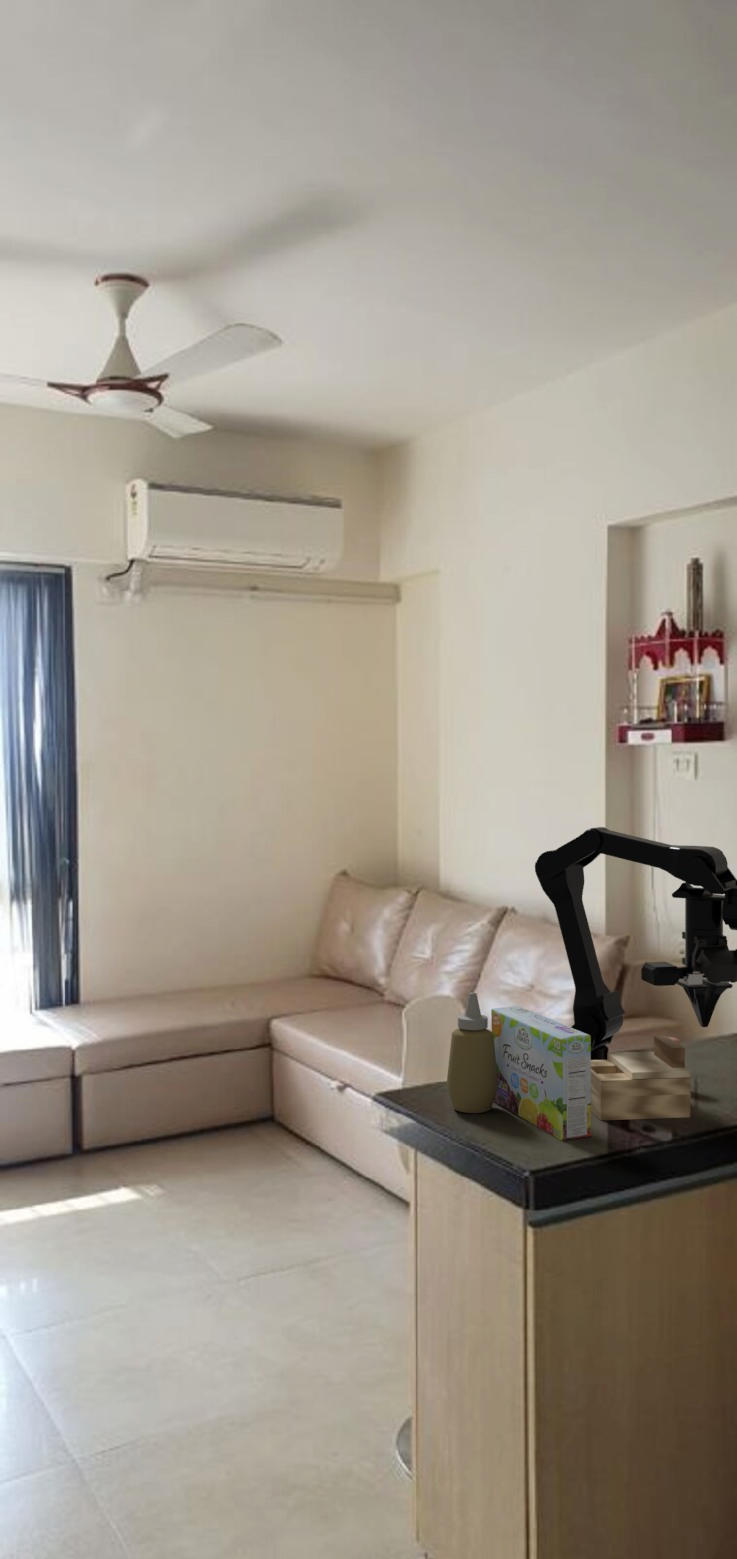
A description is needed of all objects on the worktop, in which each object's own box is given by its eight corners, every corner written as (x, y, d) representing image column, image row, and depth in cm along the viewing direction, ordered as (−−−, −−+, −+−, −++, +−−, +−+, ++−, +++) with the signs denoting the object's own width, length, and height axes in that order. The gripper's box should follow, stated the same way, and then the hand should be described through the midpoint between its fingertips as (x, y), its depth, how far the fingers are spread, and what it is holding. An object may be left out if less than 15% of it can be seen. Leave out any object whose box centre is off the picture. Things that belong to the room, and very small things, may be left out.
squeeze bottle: (452, 1117, 190) (453, 999, 190) (441, 1102, 198) (441, 988, 198) (504, 1115, 192) (505, 997, 191) (491, 1100, 200) (491, 987, 199)
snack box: (488, 1102, 199) (489, 1007, 198) (519, 1098, 201) (520, 1004, 200) (560, 1142, 179) (561, 1036, 179) (593, 1137, 181) (594, 1033, 181)
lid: (662, 1057, 203) (663, 1032, 202) (690, 1077, 191) (691, 1051, 191) (607, 1058, 202) (607, 1034, 201) (632, 1079, 190) (632, 1052, 189)
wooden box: (662, 1094, 203) (662, 1057, 203) (690, 1117, 191) (690, 1077, 191) (577, 1097, 201) (578, 1060, 201) (600, 1120, 189) (601, 1080, 189)
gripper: (668, 937, 188) (668, 1041, 188) (784, 933, 191) (784, 1035, 191) (640, 926, 199) (640, 1024, 199) (750, 923, 202) (750, 1020, 202)
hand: (704, 1026), depth 198 cm, fingers closed
